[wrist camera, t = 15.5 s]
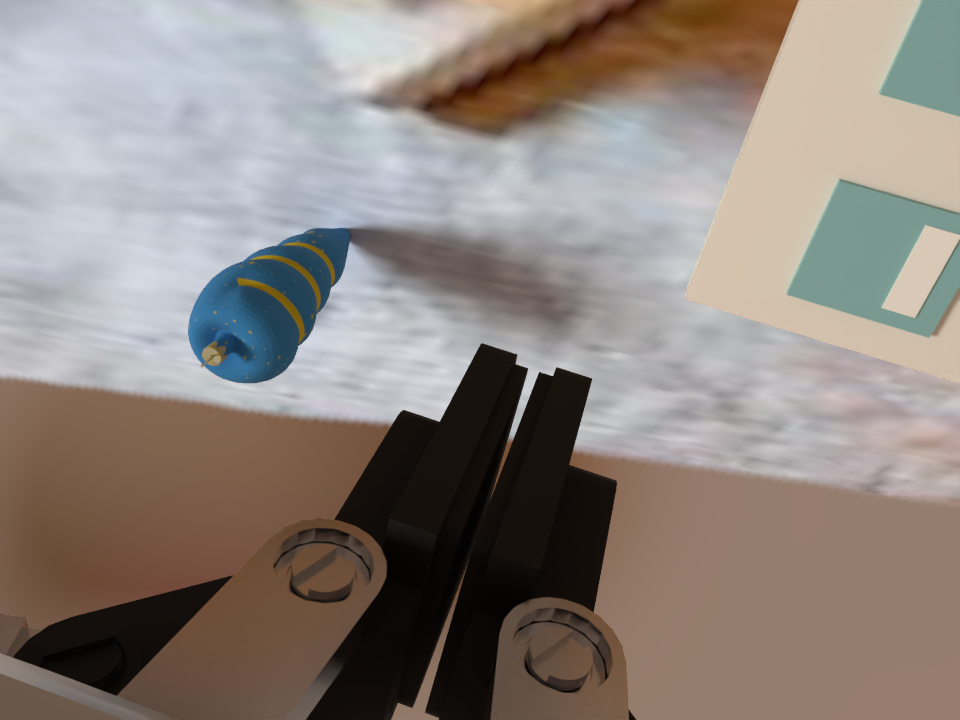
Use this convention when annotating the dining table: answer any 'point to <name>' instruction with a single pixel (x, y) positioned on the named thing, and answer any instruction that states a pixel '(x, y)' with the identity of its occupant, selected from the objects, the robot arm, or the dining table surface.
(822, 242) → the label board
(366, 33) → the dining table surface
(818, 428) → the dining table surface
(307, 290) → the ornament
